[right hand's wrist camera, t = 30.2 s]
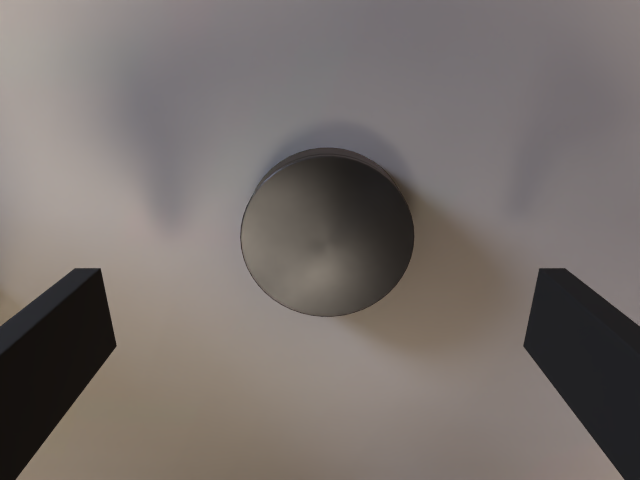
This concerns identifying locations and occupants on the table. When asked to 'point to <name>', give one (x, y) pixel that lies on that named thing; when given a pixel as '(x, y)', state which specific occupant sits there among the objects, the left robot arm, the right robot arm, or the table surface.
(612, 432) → the right robot arm
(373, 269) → the lid
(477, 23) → the table surface
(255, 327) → the table surface
